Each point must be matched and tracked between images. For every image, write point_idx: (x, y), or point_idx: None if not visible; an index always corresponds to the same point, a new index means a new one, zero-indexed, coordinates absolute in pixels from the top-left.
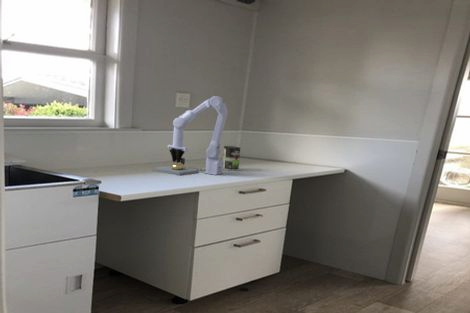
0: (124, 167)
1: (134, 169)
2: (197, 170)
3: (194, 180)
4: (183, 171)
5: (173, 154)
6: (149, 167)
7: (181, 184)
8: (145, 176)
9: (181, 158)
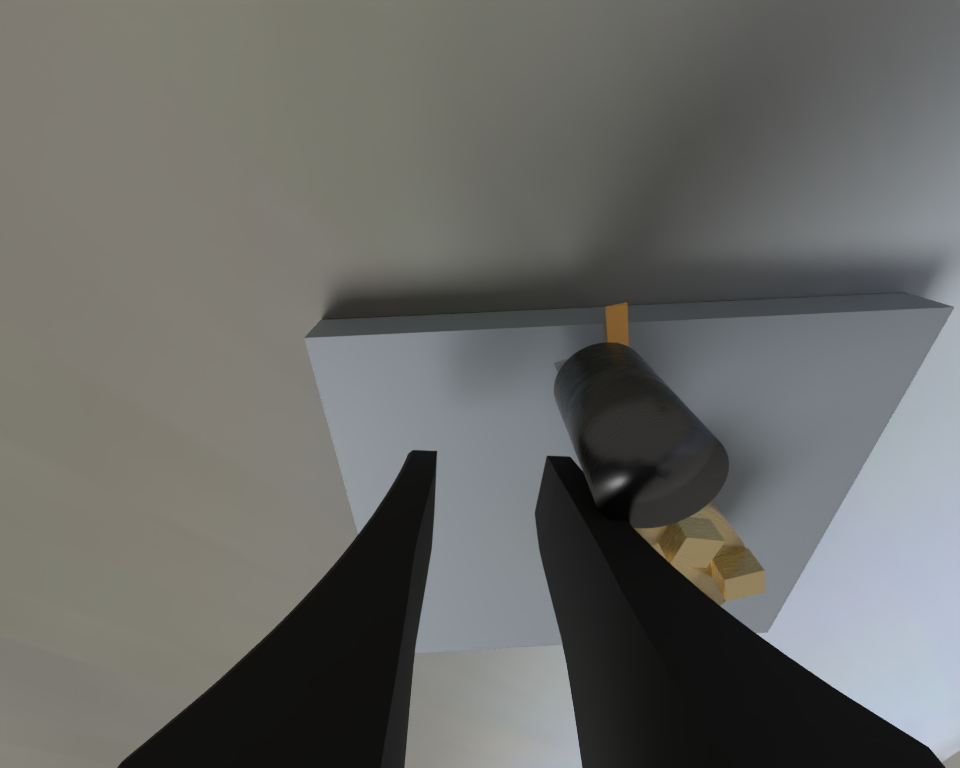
0: (147, 698)
1: None
2: (934, 331)
3: (951, 638)
4: (772, 567)
5: (407, 699)
6: (181, 550)
7: None
8: (574, 749)
9: (642, 525)
